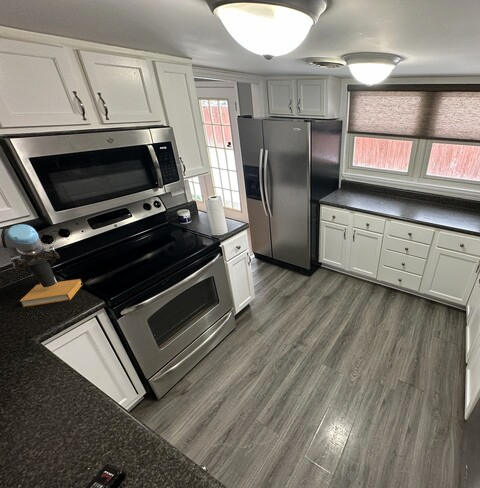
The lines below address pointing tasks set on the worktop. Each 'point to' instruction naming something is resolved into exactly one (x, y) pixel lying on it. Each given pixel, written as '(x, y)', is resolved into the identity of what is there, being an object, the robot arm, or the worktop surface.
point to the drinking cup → (42, 271)
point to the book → (51, 293)
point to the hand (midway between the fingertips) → (40, 267)
